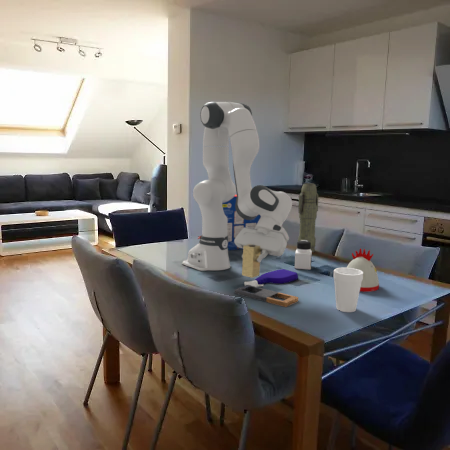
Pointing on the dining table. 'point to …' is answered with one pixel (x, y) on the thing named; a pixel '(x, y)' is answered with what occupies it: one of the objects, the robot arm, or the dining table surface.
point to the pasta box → (235, 222)
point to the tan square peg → (250, 260)
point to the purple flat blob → (274, 278)
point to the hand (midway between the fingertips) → (250, 259)
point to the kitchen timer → (365, 270)
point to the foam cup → (347, 288)
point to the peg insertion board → (266, 295)
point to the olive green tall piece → (308, 213)
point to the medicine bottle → (303, 255)
